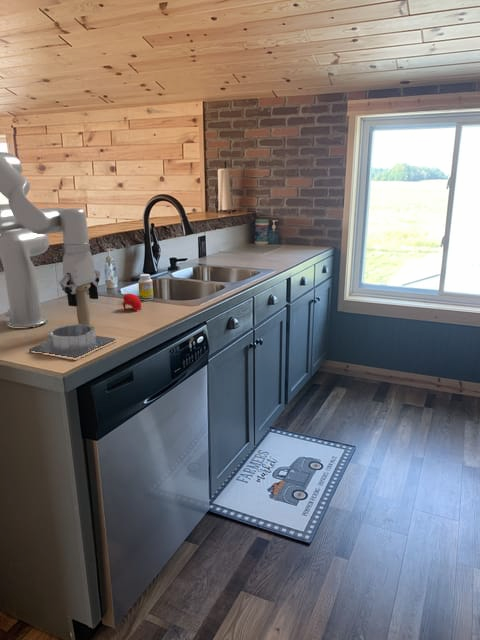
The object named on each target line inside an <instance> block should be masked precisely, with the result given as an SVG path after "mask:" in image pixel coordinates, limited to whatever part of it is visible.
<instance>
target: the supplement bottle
mask: <svg viewBox="0 0 480 640" xmlns="http://www.w3.org/2000/svg"><path fill="white" fill-rule="evenodd" d="M137 282H138V296H139V297H138V298H139V299H140V301H142V300H143V302H148V301H149V302H150V301H153V299H154V287H153V286H154V285H153V279H151V274H149V273H142V274H139V280H138V281H137Z"/></svg>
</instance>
